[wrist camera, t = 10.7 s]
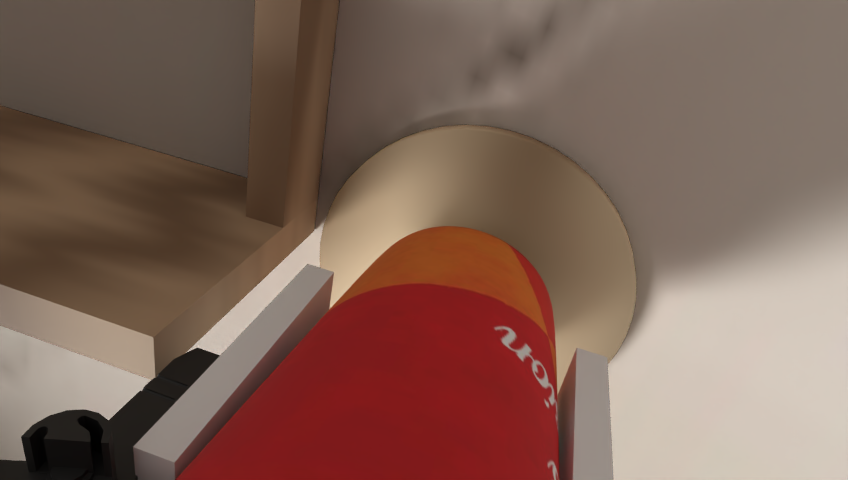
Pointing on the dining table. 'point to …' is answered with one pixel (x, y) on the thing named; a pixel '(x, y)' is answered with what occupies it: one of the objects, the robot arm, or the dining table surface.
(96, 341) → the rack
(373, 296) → the paper cup
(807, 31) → the dining table surface
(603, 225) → the mat
